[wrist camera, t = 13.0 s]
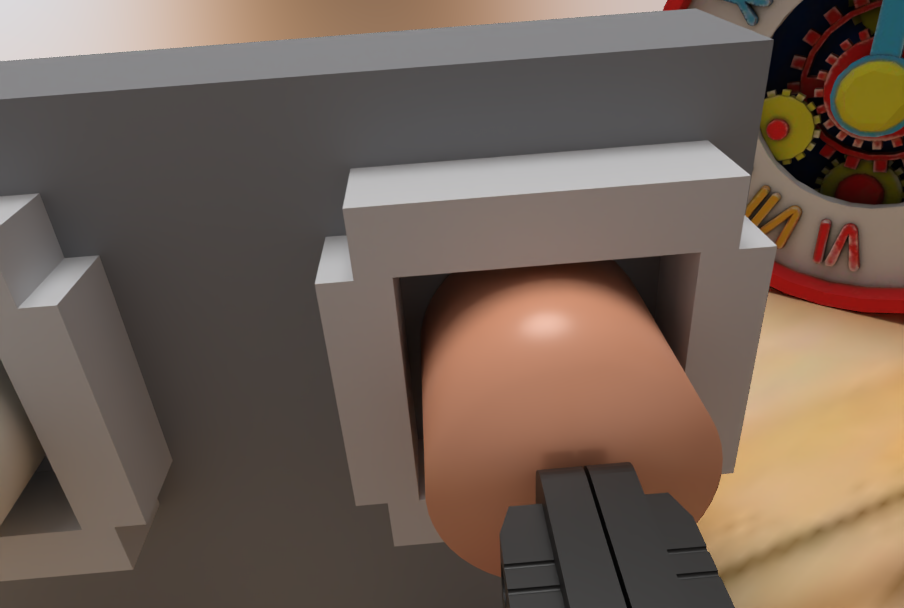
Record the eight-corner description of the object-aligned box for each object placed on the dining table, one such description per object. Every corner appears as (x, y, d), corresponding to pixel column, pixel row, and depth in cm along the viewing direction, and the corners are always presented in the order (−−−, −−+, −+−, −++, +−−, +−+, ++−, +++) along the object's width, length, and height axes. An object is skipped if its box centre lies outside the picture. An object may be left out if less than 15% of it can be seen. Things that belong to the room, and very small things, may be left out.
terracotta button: (429, 434, 17) (410, 247, 14) (635, 416, 17) (652, 227, 14) (436, 596, 13) (411, 379, 10) (703, 572, 13) (743, 351, 11)
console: (627, 460, 26) (668, -3, 18) (706, 664, 19) (831, 62, 11) (34, 512, 26) (-199, 63, 18) (-102, 739, 19) (-589, 173, 11)
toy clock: (631, 259, 40) (664, -161, 30) (671, 222, 44) (712, -161, 34) (1083, 369, 29) (1378, -232, 19) (1082, 306, 33) (1326, -220, 23)
